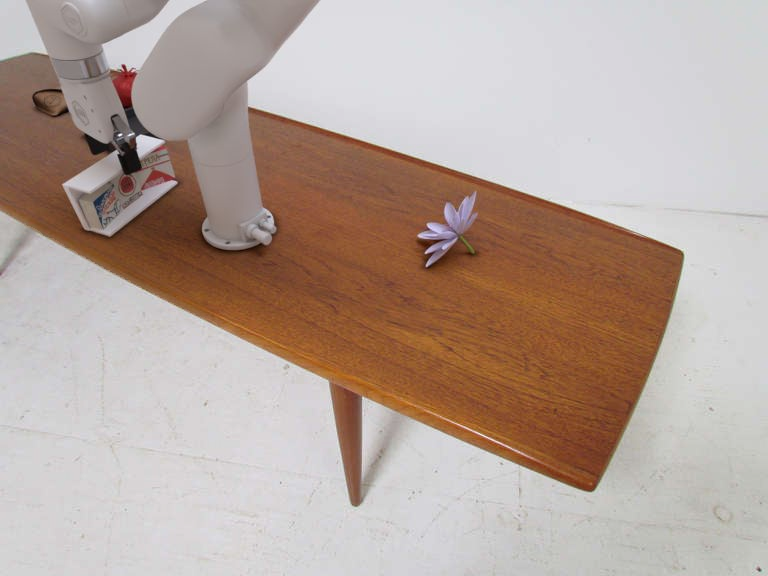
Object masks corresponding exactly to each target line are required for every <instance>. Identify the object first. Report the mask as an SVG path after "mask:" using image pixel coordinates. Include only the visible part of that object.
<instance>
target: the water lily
mask: <svg viewBox="0 0 768 576" xmlns="http://www.w3.org/2000/svg"><path fill="white" fill-rule="evenodd" d="M476 198H477V190H475V191H474V192H473V193H472V195H471V196H470V197H469V195H467V196H465V198H464V199H463V200H462V202H461V203H460V205H459V208H458V210H456V208H455V207H454V205H453V204H452V203H451V202H449V201H448V202H446V203H445V206H444V209H443V210H444V211H443V213H444V214H443V215H444V218H445V220H446V223H447V224H441V223H439V222H433V221H432V222H427V223H426V226H427V228H428V229H429V230H425V231H422V232H420V233H419V234H417V236H416V237H418V238H420V239H423V240H428V241H429V240H430V241H431V240H432V241H433V240H434V241H437V240H438V241H439V240H442V241H439V242H437V243H434V244H432V245H431V246H430V247H428V249H426V250H425V252H424V255H427V254H430V253H432V255H431V256H430V257H429V259H428V260H427V262H426V264H425V268H428V267H429V266H431V265H433V264H434V263H435V262H437V261H438V260H440V259H441V258H442V257H443V256H444V255H445V254H446V253H447V252H448V251H449V250H450V249H451V247H453V245H455V243H456V242H457V241H458V239H459V240H460V241H461V243H463V245H464V247H466V248H467V250H468V251H469V252H470V253H471V255H473V254H474V253H475V250H474V249H473V248H472V246H471V245H470V244H469V243H468V241H467V240H466V239H465V238H464V237H463V236H462V234H464V233H465V232H467V231H468V230H469V229H470V228H471V227H472V226H473V224H474V222H475V221H476V219H477V217H478V214H479V213H478V212H475V213H473V212H472V211H473V209H474V206H475V202H476ZM472 213H473V214H472ZM471 214H472V215H471ZM433 252H434V253H433Z"/></svg>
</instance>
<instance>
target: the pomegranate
mask: <svg viewBox="0 0 768 576" xmlns="http://www.w3.org/2000/svg"><path fill="white" fill-rule="evenodd" d="M120 66H121V68H122V69H121V68H116V70H117V71H120V73H118V74H117V75H116V74H112V75H109V76H110V78H113V77H114V79H112V83H113V85H114V87H115V89H116V92H117V94H118V96H119V99H120V101H121V104H122V106H123V107H126V108H130V107H133V105H132V98H131V92H132V85H133V82H134V79H135V77H136V75H137V73H138V72H139V70H140V69H137V68H136V67H131V68H130V70H128V69H127V66H126V64H125V63H122V64H120ZM133 70H134V71H133ZM115 76H116V77H115Z"/></svg>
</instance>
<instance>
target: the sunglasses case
mask: <svg viewBox="0 0 768 576" xmlns="http://www.w3.org/2000/svg"><path fill="white" fill-rule="evenodd" d="M31 100H32V102H33V104H34V106H35V108H36V109H37V110H39V111H40V112H43V113H45V114H47V115H50V116H53V117H55V116H56V117H57V116H59V115H61V114H63V113H65V112H69V109H68V106H67V104H66V101H65V98H64V95H63V92H62V89H61V86H60V84H58V85H54V86H52V87H49V88H43V89H40V90H36V91H34V93H33V94H32V96H31Z"/></svg>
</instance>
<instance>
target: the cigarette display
mask: <svg viewBox="0 0 768 576" xmlns="http://www.w3.org/2000/svg"><path fill="white" fill-rule="evenodd" d="M136 143H137V146H136V147H137V153H138V156H139V159H140V162H141V165H142V169H141V170H139V171H136V172H134V173H132V174H130V175H125V174H124V172H123V170H122V167H121V164H120V162H119V159H118V156H117V154H119V152H118V151H117V150H116V151H114V152H111V153H109V154H108V155H106V156H105V157H103V158H101V159H99V160H98V161H96V162H95V163H94V164H91V166H89V167H87V168H86V169H84V170H82V171H81V172H80V173H78V174H76V175H75V176H73V177H72V178H70V179H68V180H67V181H65V182H63V183H62V184H61V186H62V188H63V190H64V192H65V194H66V195H67V198H68V200H69V202H70V205H71V206H72V208H73V210H74V212H75V214H76V216H77V218H78V220H79V222H80V224H81V226H82V228H83V229H84V231H87V232H89V231H90V232H93V233H96V234H100V235H104V236H106V237H109V238H110V237H112V236H113V235H114V234H116V233H117V232H118V231H120V229H122V228H123V227H124V226H126V225H127V224H128V223H129V222H131V221H132V220H133V219H135V218H136V217H137V216H138V215H140V214H141V213H143V212H144V211H145V210H146V209H147V208H148V207H150V206H151V205H152V204H153V203H155V202H156V201H157V200H159V199H160V198H161V197H163V196H164V195H165V194H166V193H167V192H169V191H170V190H171V189H173V188H174V187H175V186H176V185H178V183H179V182H178V181H176V175H175V171H174V168H173V164H172V162H171V158H170V154H169V152H168V148H167V147H166V146H165V145H164V144H165V143H166V140H164V139H157V138H153V137H149V136H145V135H141V134H140V135H139V136H137V137H136ZM162 145H163V146H162Z"/></svg>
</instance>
